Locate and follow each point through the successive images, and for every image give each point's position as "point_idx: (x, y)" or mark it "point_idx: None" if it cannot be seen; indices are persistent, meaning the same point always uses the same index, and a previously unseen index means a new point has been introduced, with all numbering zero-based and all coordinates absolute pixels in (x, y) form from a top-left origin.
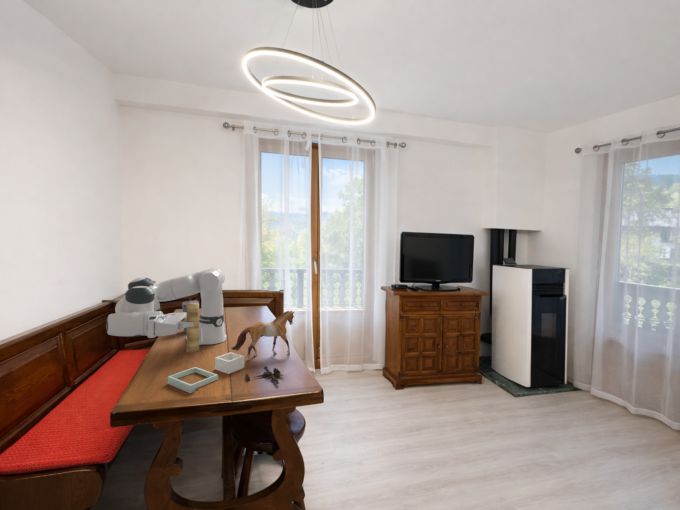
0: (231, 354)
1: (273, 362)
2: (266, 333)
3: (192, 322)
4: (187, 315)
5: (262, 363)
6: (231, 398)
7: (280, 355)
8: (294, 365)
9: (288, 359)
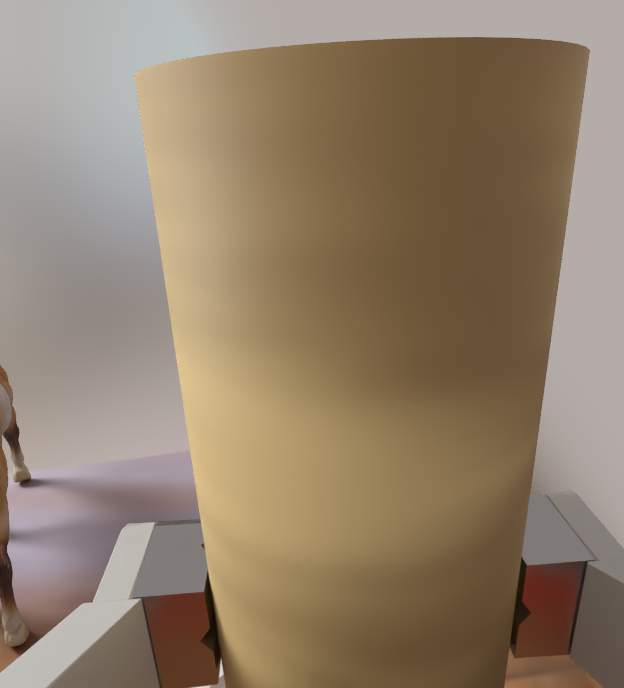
0: None
1: (106, 528)
2: (5, 421)
3: (580, 502)
4: (517, 478)
5: (93, 571)
6: (572, 667)
7: (20, 507)
8: (183, 463)
9: (98, 480)
